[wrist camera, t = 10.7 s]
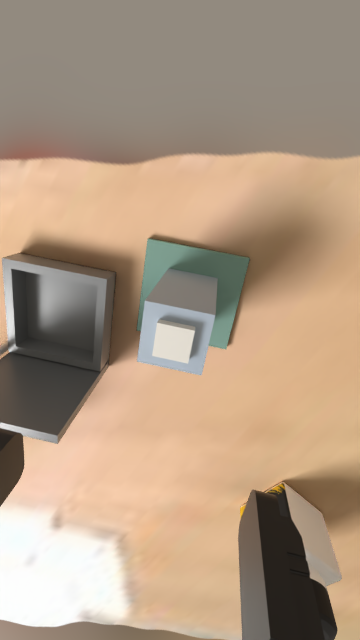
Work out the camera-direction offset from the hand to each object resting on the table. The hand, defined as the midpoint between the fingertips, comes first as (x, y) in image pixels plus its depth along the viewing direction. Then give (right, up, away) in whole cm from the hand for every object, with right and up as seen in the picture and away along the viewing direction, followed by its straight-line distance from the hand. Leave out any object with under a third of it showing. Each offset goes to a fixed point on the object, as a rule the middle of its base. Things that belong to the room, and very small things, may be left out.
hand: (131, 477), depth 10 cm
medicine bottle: (+14, -18, +28) cm, 36 cm away
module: (+2, +8, +18) cm, 19 cm away
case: (-10, +6, +20) cm, 24 cm away
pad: (+3, +8, +18) cm, 20 cm away
